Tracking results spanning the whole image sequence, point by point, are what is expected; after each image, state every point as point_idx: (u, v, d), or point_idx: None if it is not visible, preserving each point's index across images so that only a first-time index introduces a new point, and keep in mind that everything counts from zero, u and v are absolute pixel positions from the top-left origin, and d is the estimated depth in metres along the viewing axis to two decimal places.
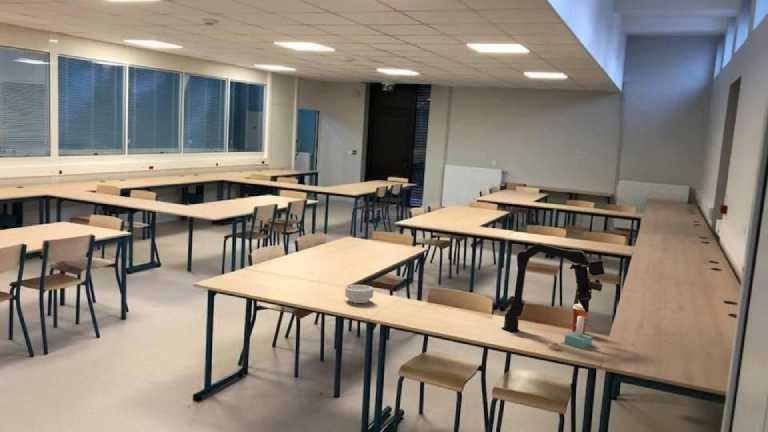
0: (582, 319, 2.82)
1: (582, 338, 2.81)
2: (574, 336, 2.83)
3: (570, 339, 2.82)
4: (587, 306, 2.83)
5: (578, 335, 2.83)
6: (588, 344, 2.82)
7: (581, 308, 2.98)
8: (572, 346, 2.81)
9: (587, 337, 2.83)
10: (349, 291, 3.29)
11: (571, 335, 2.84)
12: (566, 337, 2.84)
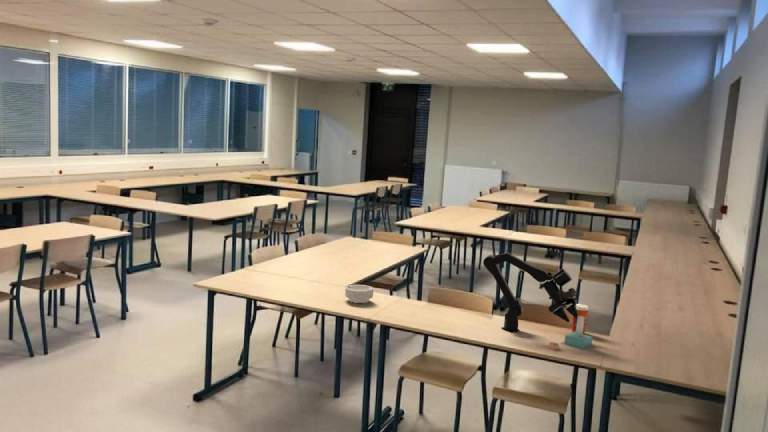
0: (582, 319, 2.82)
1: (582, 338, 2.81)
2: (574, 336, 2.83)
3: (570, 339, 2.82)
4: (565, 316, 2.83)
5: (578, 335, 2.83)
6: (588, 344, 2.82)
7: (581, 308, 2.98)
8: (572, 346, 2.81)
9: (587, 337, 2.83)
10: (349, 291, 3.29)
11: (571, 335, 2.84)
12: (566, 337, 2.84)
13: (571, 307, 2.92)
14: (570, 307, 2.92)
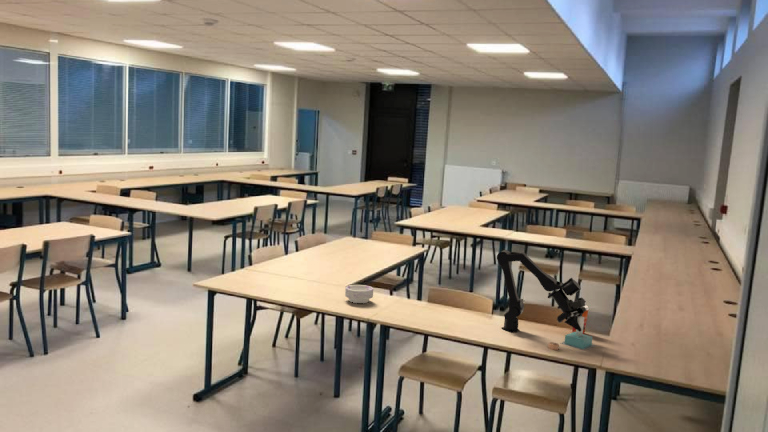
0: (582, 319, 2.82)
1: (582, 338, 2.81)
2: (574, 336, 2.83)
3: (570, 339, 2.82)
4: (577, 325, 2.82)
5: (578, 335, 2.83)
6: (588, 344, 2.82)
7: None
8: (572, 346, 2.81)
9: (587, 337, 2.83)
10: (349, 291, 3.29)
11: (571, 335, 2.84)
12: (566, 337, 2.84)
13: None
14: (576, 318, 2.87)
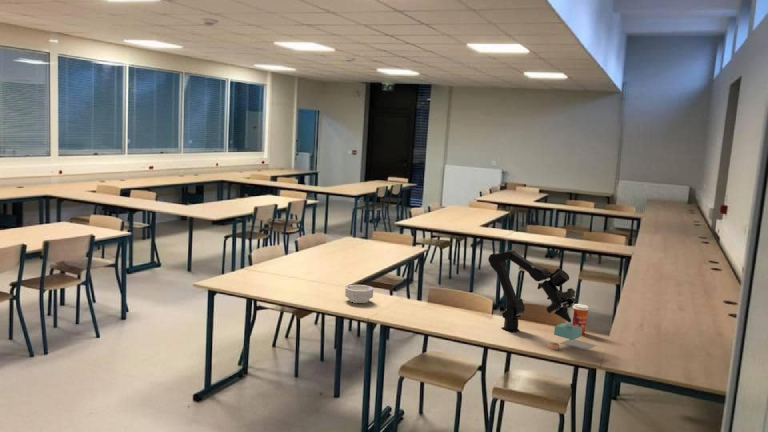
0: (572, 310, 2.77)
1: (572, 329, 2.76)
2: (564, 327, 2.79)
3: (560, 330, 2.78)
4: (566, 316, 2.77)
5: (568, 326, 2.78)
6: (578, 335, 2.78)
7: (581, 308, 2.98)
8: (572, 346, 2.81)
9: (577, 328, 2.78)
10: (349, 291, 3.29)
11: (561, 326, 2.80)
12: (556, 328, 2.79)
13: None
14: (566, 309, 2.83)
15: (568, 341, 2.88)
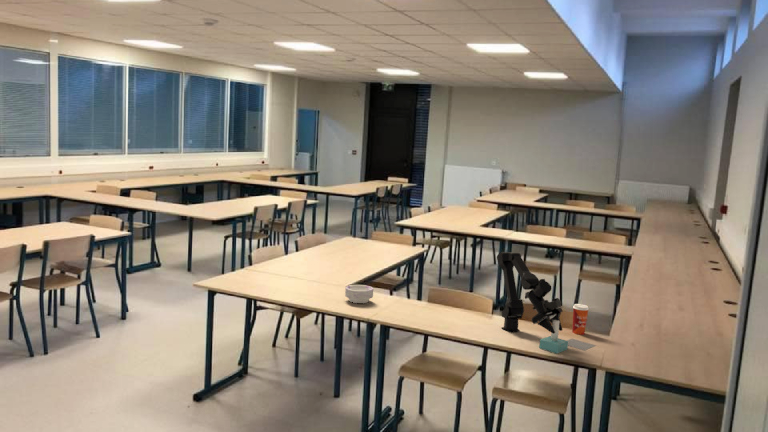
0: (557, 323, 2.74)
1: (557, 343, 2.72)
2: (549, 340, 2.75)
3: (545, 344, 2.74)
4: (550, 327, 2.72)
5: (553, 339, 2.75)
6: (563, 349, 2.74)
7: (581, 308, 2.98)
8: (572, 346, 2.81)
9: (562, 341, 2.74)
10: (349, 291, 3.29)
11: (546, 339, 2.76)
12: (541, 341, 2.75)
13: (554, 318, 2.79)
14: (553, 318, 2.80)
15: (568, 341, 2.88)
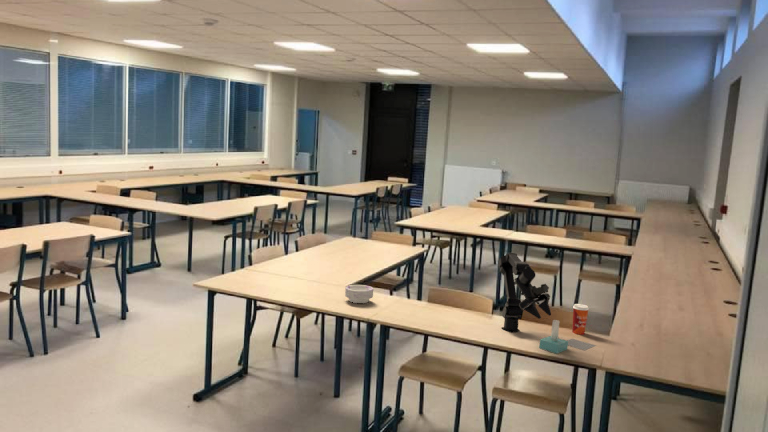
0: (557, 323, 2.74)
1: (557, 343, 2.72)
2: (549, 340, 2.75)
3: (545, 344, 2.74)
4: (536, 312, 2.75)
5: (553, 339, 2.75)
6: (563, 349, 2.74)
7: (581, 308, 2.98)
8: (572, 346, 2.81)
9: (562, 341, 2.74)
10: (349, 291, 3.29)
11: (546, 339, 2.76)
12: (541, 341, 2.75)
13: (543, 303, 2.84)
14: (542, 303, 2.85)
15: (568, 341, 2.88)
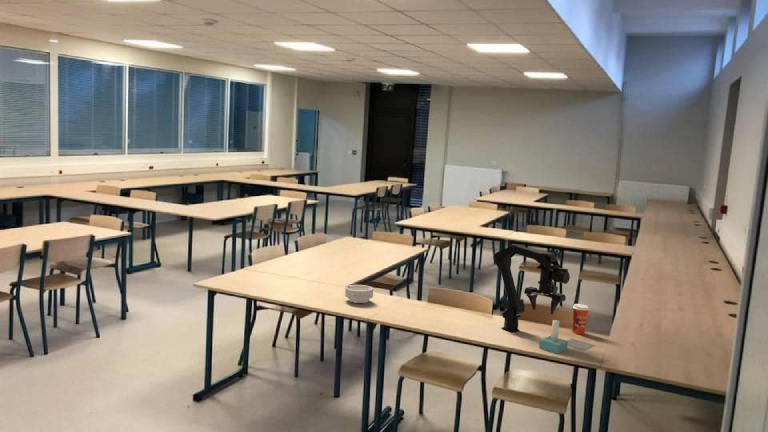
0: (557, 323, 2.74)
1: (557, 343, 2.72)
2: (549, 340, 2.75)
3: (545, 344, 2.74)
4: (555, 308, 2.85)
5: (553, 339, 2.75)
6: (563, 349, 2.74)
7: (581, 308, 2.98)
8: (572, 346, 2.81)
9: (562, 341, 2.74)
10: (349, 291, 3.29)
11: (546, 339, 2.76)
12: (541, 341, 2.75)
13: (534, 297, 2.91)
14: (534, 296, 2.91)
15: (568, 341, 2.88)
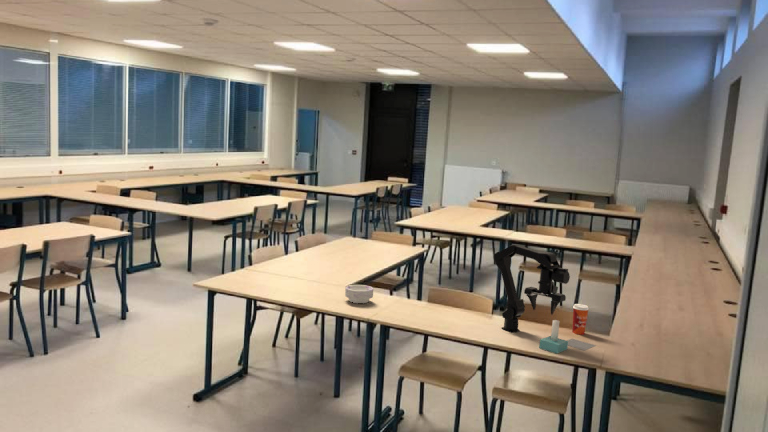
0: (557, 323, 2.74)
1: (557, 343, 2.72)
2: (549, 340, 2.75)
3: (545, 344, 2.74)
4: (555, 308, 2.85)
5: (553, 339, 2.75)
6: (563, 349, 2.74)
7: (581, 308, 2.98)
8: (572, 346, 2.81)
9: (562, 341, 2.74)
10: (349, 291, 3.29)
11: (546, 339, 2.76)
12: (541, 341, 2.75)
13: (534, 297, 2.91)
14: (534, 296, 2.91)
15: (568, 341, 2.88)
